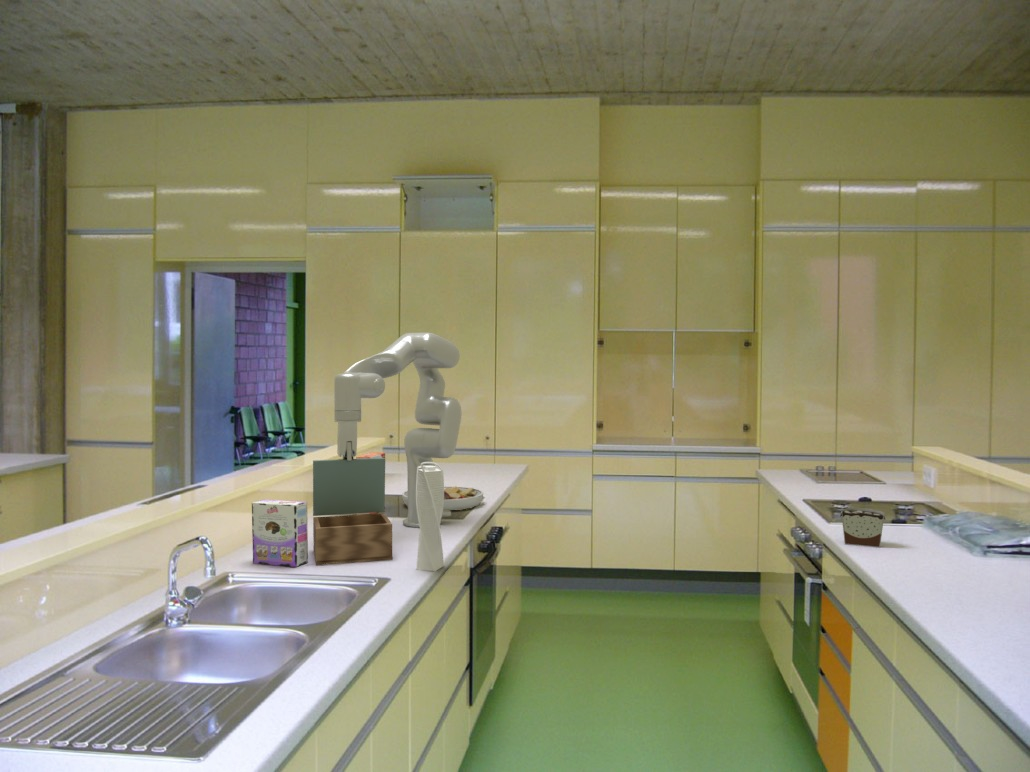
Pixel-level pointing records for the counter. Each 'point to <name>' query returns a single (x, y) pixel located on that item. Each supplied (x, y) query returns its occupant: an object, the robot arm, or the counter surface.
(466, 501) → the bowl
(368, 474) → the box lid
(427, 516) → the skyscraper
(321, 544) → the storage box
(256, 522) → the candy box
